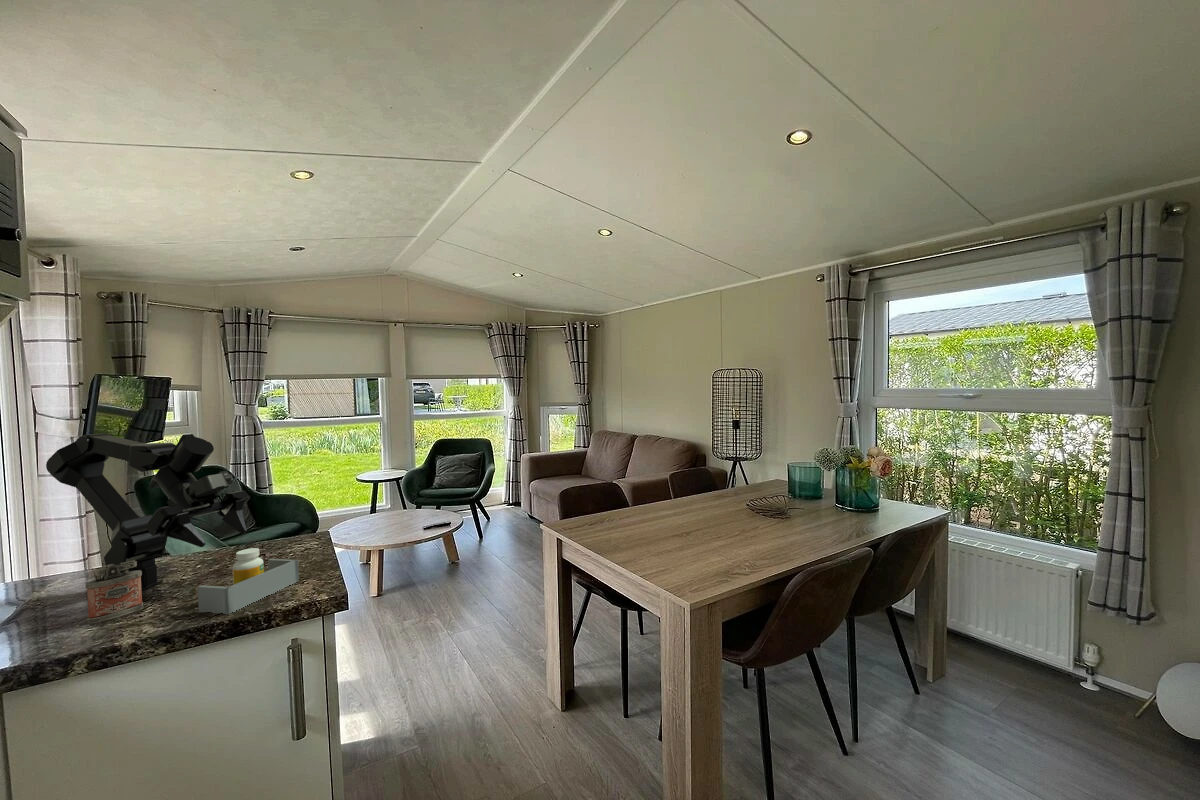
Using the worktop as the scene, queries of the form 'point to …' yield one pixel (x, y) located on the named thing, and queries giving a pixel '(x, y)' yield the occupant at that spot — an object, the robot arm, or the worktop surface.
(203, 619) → the worktop surface
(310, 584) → the worktop surface
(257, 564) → the supplement bottle
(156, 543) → the robot arm
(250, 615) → the worktop surface
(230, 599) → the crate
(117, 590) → the lighter
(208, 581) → the worktop surface
